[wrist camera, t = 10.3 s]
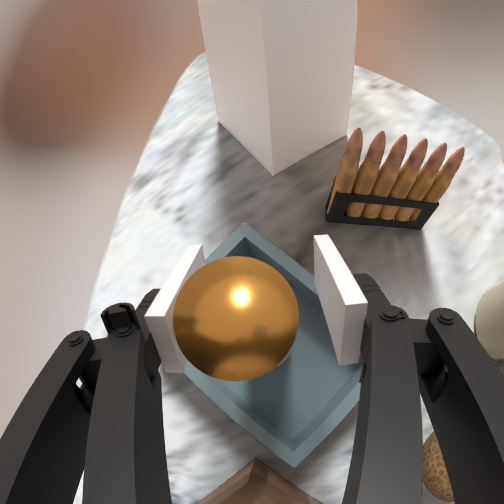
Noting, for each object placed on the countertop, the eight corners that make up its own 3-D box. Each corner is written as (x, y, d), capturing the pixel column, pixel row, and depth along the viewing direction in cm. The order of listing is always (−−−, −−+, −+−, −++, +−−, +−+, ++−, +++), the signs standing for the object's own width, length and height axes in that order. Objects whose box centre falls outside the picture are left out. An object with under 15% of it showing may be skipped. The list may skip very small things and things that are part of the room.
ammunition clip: (325, 222, 28) (347, 135, 17) (325, 206, 28) (344, 117, 17) (421, 229, 26) (476, 159, 15) (418, 214, 27) (468, 141, 16)
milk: (218, 121, 35) (171, -64, 11) (286, 89, 37) (277, -76, 13) (273, 175, 30) (248, -80, 7) (346, 134, 32) (373, -68, 8)
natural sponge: (458, 382, 20) (525, 379, 11) (480, 442, 17) (540, 454, 7) (386, 438, 19) (438, 469, 10) (414, 497, 16) (461, 535, 7)
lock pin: (302, 343, 23) (325, 309, 8) (271, 377, 22) (236, 407, 7) (268, 315, 24) (231, 233, 9) (237, 347, 23) (150, 319, 8)
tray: (381, 349, 22) (399, 345, 19) (292, 452, 20) (294, 468, 16) (249, 242, 28) (244, 221, 24) (162, 333, 25) (142, 326, 21)
